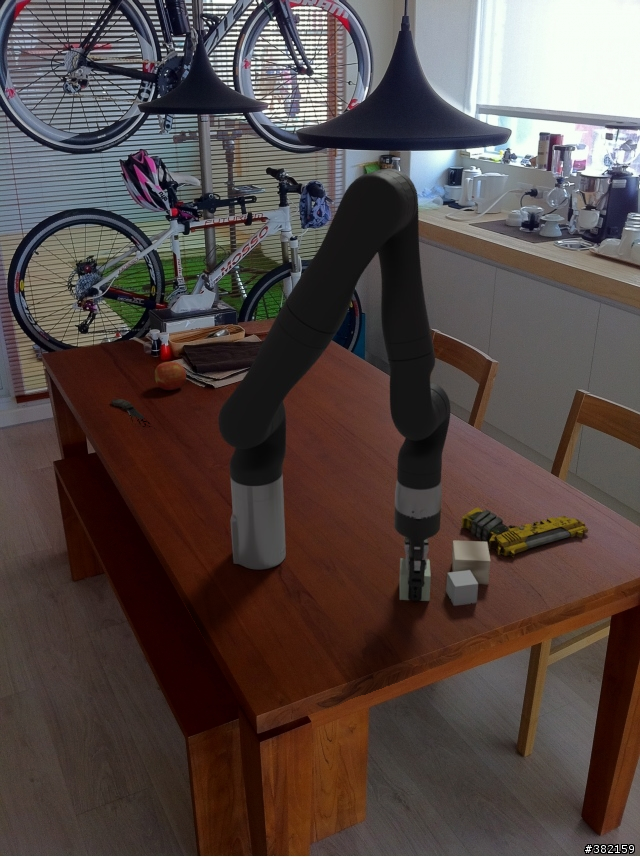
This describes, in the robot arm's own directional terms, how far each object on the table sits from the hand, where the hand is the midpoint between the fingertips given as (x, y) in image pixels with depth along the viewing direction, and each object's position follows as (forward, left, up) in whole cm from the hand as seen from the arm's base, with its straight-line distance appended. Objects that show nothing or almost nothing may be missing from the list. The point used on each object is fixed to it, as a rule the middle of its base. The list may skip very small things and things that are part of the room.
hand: (414, 589), depth 135 cm
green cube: (0, 0, 0) cm, 0 cm away
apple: (-66, +90, -1) cm, 112 cm away
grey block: (+8, -1, -1) cm, 8 cm away
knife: (-70, +69, -1) cm, 98 cm away
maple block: (+10, +6, -1) cm, 12 cm away
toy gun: (+21, +21, -1) cm, 30 cm away
